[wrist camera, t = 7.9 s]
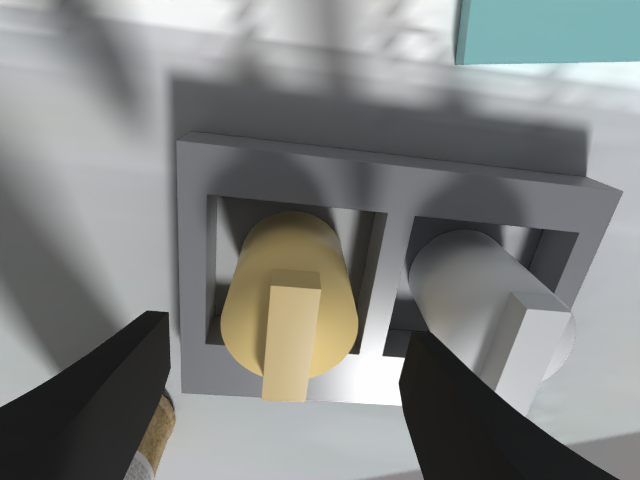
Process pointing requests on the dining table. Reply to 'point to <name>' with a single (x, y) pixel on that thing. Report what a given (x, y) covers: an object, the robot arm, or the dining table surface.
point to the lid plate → (548, 31)
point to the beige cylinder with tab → (289, 304)
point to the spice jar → (152, 443)
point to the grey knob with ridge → (492, 313)
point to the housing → (384, 247)
